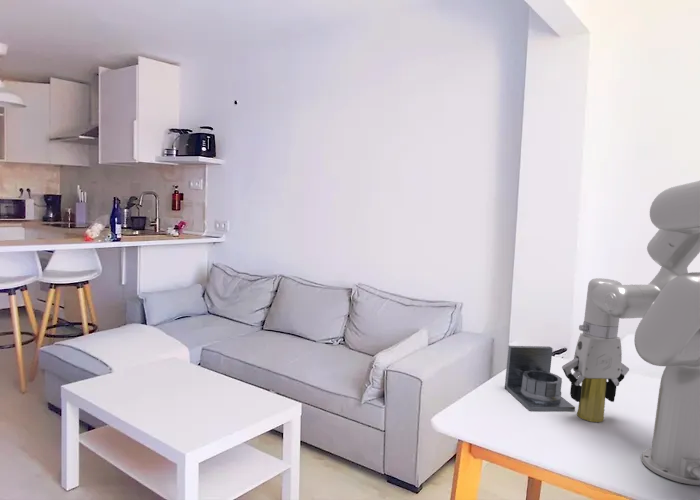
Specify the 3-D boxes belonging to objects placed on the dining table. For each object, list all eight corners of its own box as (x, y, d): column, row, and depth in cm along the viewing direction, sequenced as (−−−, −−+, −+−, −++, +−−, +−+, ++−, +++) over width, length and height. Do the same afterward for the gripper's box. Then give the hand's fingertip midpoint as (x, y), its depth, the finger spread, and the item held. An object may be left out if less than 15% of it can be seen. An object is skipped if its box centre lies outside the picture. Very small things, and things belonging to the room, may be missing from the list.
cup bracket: (574, 411, 134) (579, 365, 132) (529, 411, 132) (534, 364, 131) (545, 388, 149) (549, 346, 147) (504, 387, 147) (508, 345, 145)
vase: (606, 424, 127) (613, 366, 125) (579, 420, 128) (586, 363, 126) (600, 413, 133) (606, 358, 131) (574, 410, 134) (580, 355, 132)
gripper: (575, 334, 123) (566, 406, 125) (643, 335, 125) (634, 406, 128) (558, 325, 130) (551, 393, 133) (623, 326, 133) (615, 393, 135)
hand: (592, 399), depth 130 cm, fingers open, 8 cm apart
